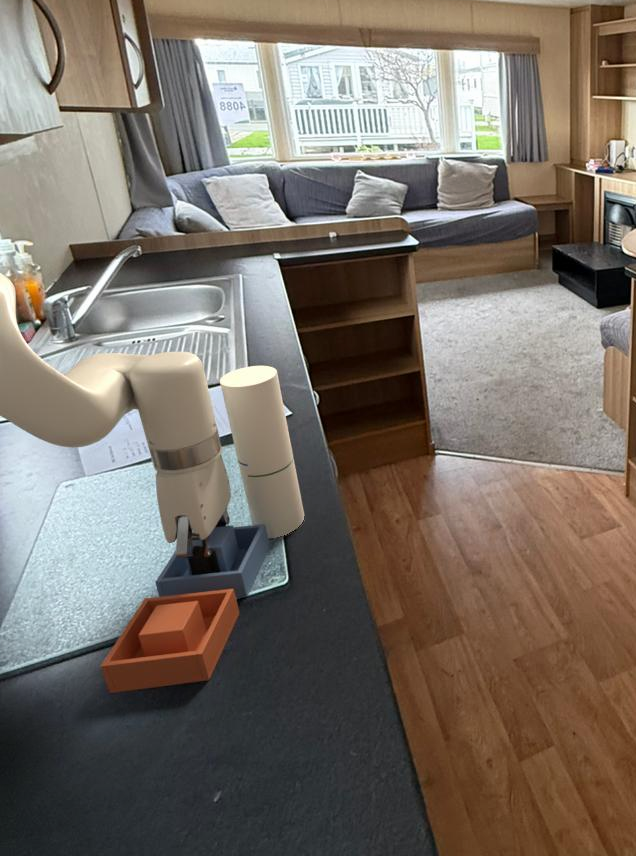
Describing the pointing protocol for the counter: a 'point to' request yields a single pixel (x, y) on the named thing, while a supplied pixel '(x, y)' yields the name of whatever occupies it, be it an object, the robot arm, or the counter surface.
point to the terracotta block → (173, 629)
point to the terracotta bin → (139, 672)
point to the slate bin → (238, 578)
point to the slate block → (221, 547)
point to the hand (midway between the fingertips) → (214, 563)
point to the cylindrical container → (263, 448)
